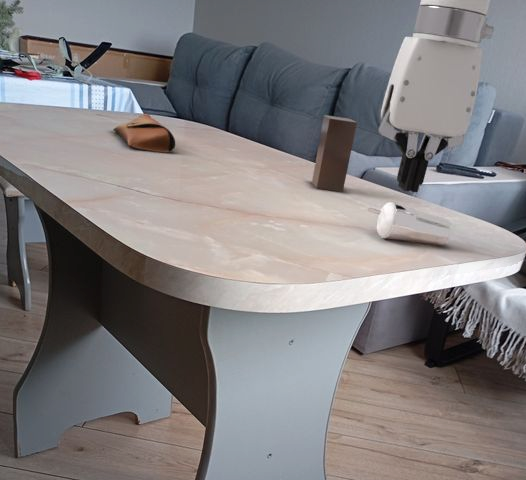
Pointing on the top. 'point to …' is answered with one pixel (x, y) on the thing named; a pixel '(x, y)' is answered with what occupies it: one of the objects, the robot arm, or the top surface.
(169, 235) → the top surface
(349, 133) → the walnut pillar
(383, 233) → the milkshake
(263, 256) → the top surface
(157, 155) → the top surface
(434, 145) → the robot arm
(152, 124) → the sunglasses case
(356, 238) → the top surface
